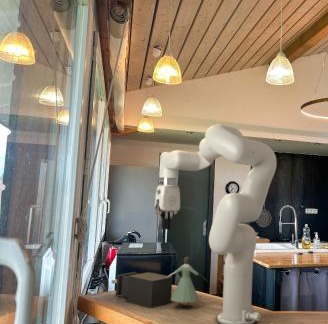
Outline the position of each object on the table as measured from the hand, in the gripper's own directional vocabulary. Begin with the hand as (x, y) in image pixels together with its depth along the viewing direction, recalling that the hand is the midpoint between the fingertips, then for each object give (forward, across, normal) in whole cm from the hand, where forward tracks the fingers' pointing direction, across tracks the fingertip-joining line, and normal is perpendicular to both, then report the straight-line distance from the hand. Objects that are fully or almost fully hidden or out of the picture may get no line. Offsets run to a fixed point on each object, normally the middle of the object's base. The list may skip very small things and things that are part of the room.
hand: (165, 228), depth 152 cm
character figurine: (+27, -2, -15) cm, 31 cm away
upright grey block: (+27, -6, 0) cm, 28 cm away
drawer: (+26, -6, +11) cm, 29 cm away
